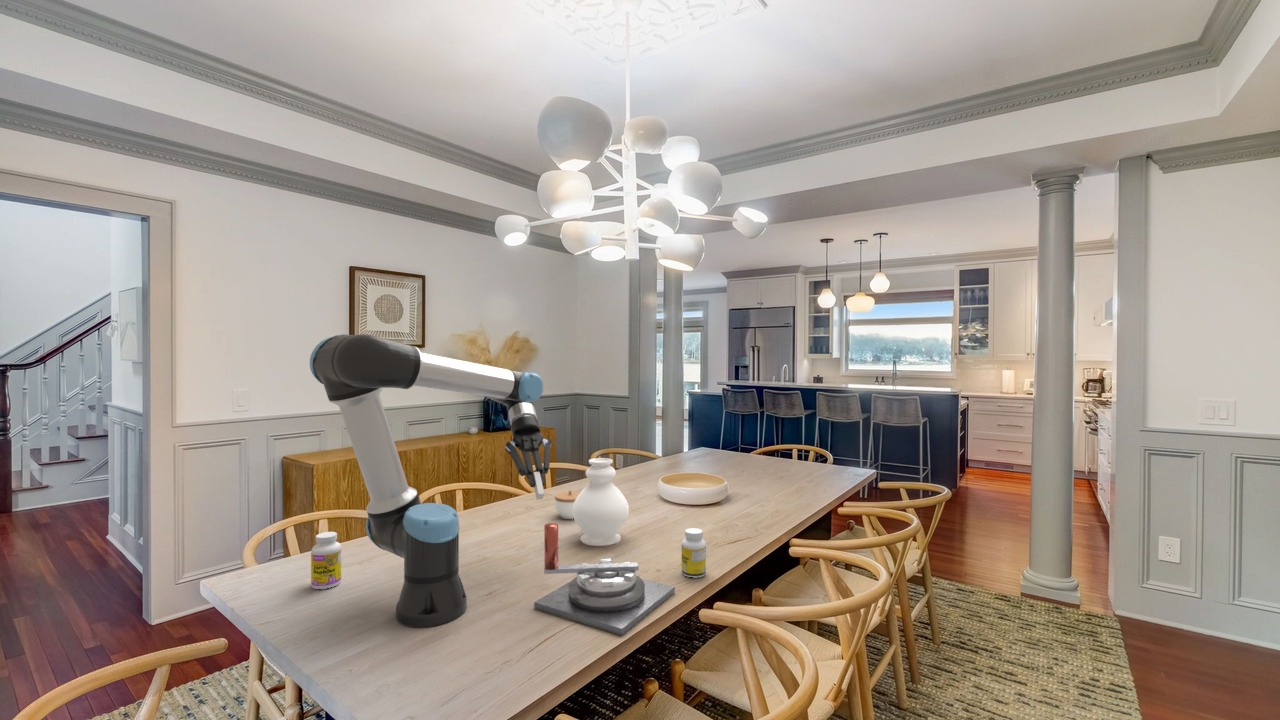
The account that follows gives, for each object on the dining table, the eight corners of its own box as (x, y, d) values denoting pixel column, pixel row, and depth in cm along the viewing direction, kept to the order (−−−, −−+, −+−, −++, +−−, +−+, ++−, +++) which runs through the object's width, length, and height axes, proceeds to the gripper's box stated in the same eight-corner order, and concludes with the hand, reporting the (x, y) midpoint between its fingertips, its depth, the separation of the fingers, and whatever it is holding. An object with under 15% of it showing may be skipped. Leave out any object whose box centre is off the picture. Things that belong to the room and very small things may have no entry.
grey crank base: (622, 635, 116) (622, 618, 116) (534, 608, 128) (534, 592, 128) (674, 593, 137) (674, 578, 137) (594, 573, 149) (594, 559, 149)
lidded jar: (549, 519, 197) (549, 492, 197) (564, 511, 207) (564, 486, 207) (575, 522, 193) (575, 495, 192) (590, 514, 202) (590, 488, 202)
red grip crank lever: (635, 571, 140) (635, 514, 140) (640, 595, 126) (640, 532, 126) (546, 574, 138) (546, 516, 138) (542, 599, 124) (541, 535, 124)
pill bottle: (682, 568, 152) (682, 526, 152) (706, 570, 151) (706, 527, 151) (680, 578, 146) (680, 533, 145) (705, 579, 145) (705, 535, 144)
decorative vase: (635, 532, 182) (635, 456, 182) (618, 551, 165) (618, 467, 164) (584, 528, 187) (584, 453, 186) (563, 546, 170) (563, 464, 169)
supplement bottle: (307, 592, 137) (307, 540, 137) (315, 581, 144) (315, 531, 143) (337, 588, 139) (337, 537, 139) (344, 578, 145) (343, 529, 145)
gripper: (544, 429, 161) (562, 501, 146) (498, 432, 155) (512, 507, 141) (549, 413, 156) (568, 485, 141) (502, 415, 151) (517, 491, 136)
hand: (540, 496), depth 141 cm, fingers closed
